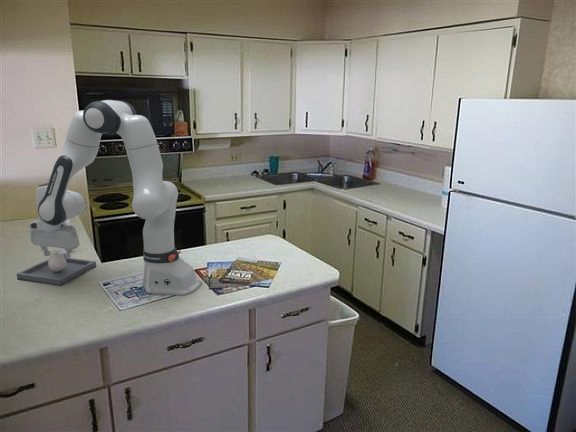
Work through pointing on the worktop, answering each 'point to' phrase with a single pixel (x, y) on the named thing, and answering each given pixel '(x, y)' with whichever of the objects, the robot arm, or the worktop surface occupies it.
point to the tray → (48, 276)
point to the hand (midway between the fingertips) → (57, 256)
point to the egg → (57, 262)
